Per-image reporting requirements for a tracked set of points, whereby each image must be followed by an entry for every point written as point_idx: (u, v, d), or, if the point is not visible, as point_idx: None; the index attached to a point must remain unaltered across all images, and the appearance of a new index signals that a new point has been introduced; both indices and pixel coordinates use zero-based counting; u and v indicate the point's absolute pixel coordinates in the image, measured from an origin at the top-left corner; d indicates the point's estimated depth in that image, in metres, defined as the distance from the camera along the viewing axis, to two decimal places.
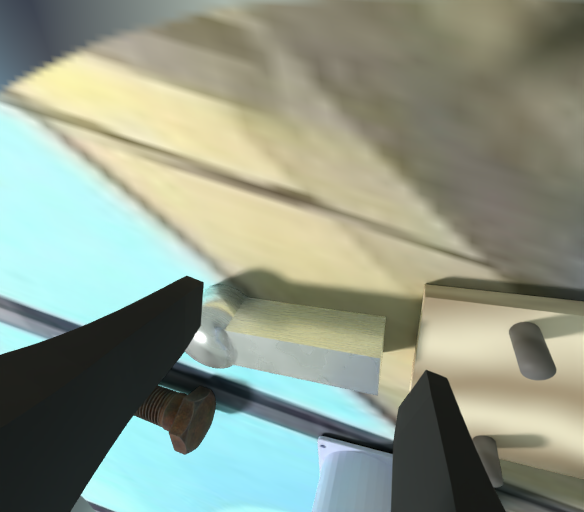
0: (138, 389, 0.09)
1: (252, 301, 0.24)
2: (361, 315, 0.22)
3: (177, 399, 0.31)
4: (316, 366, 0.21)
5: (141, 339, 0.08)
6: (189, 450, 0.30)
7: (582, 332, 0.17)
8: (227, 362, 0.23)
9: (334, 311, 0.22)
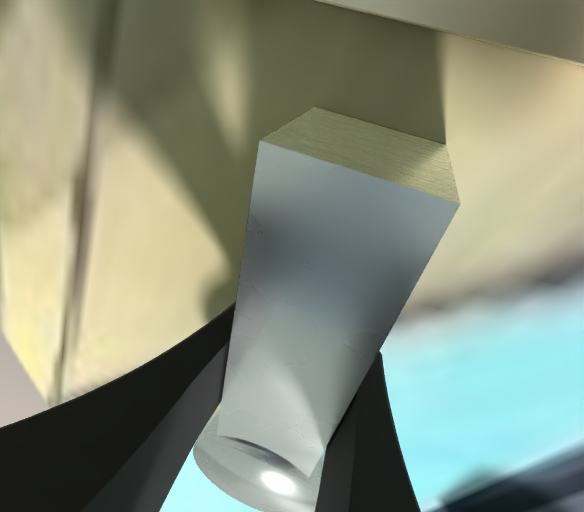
0: (201, 418, 0.09)
1: None
2: None
3: None
4: (306, 333, 0.07)
5: (211, 369, 0.08)
6: None
7: None
8: (302, 482, 0.11)
9: None
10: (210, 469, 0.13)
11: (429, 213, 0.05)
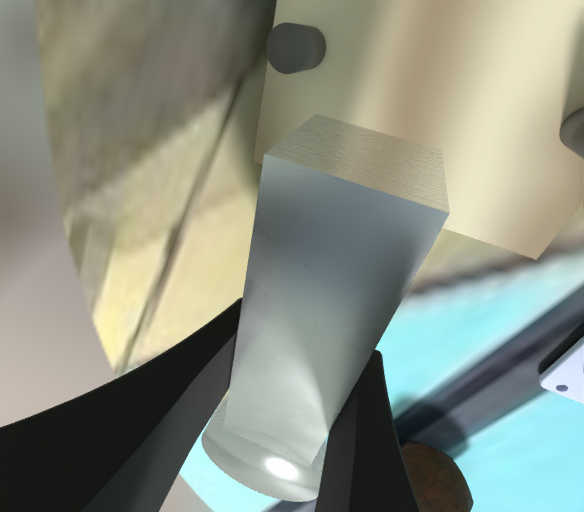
0: (201, 418, 0.09)
1: None
2: None
3: None
4: (308, 329, 0.08)
5: (211, 369, 0.08)
6: None
7: None
8: (305, 467, 0.11)
9: None
10: (218, 456, 0.13)
11: (421, 221, 0.06)
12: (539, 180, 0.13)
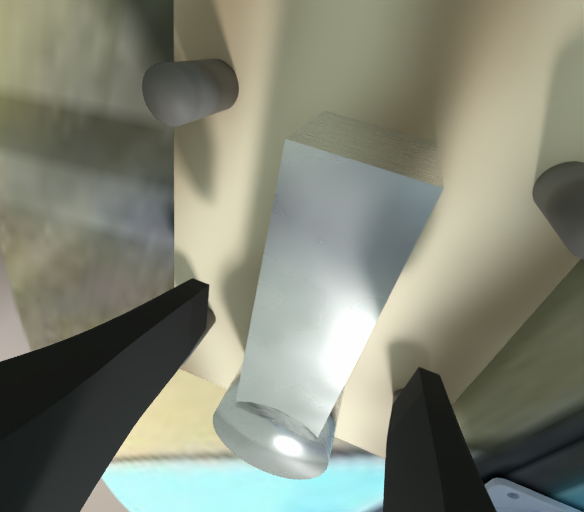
0: (144, 392, 0.09)
1: None
2: None
3: None
4: (319, 301, 0.09)
5: (148, 342, 0.08)
6: None
7: (194, 273, 0.15)
8: (312, 442, 0.12)
9: None
10: (228, 435, 0.14)
11: (420, 196, 0.07)
12: (387, 420, 0.16)
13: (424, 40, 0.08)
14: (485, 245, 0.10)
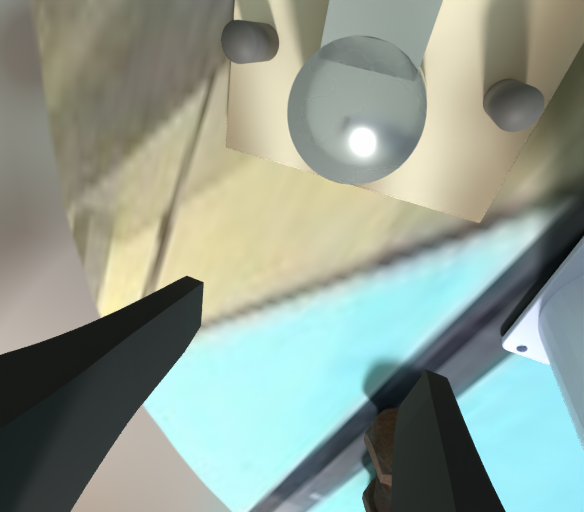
0: (138, 389, 0.09)
1: None
2: None
3: None
4: None
5: (141, 339, 0.08)
6: None
7: None
8: (409, 84, 0.11)
9: None
10: (303, 130, 0.12)
11: None
12: (472, 148, 0.14)
13: None
14: None
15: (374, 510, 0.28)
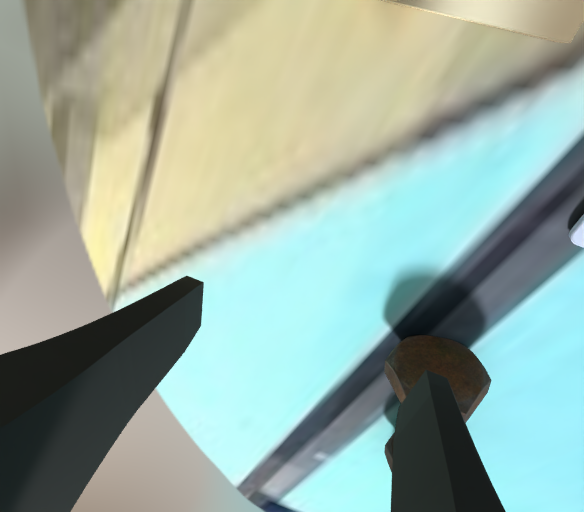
0: (138, 389, 0.09)
1: None
2: None
3: None
4: None
5: (141, 339, 0.08)
6: (458, 403, 0.18)
7: None
8: None
9: None
10: None
11: None
12: None
13: None
14: None
15: None
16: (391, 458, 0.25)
